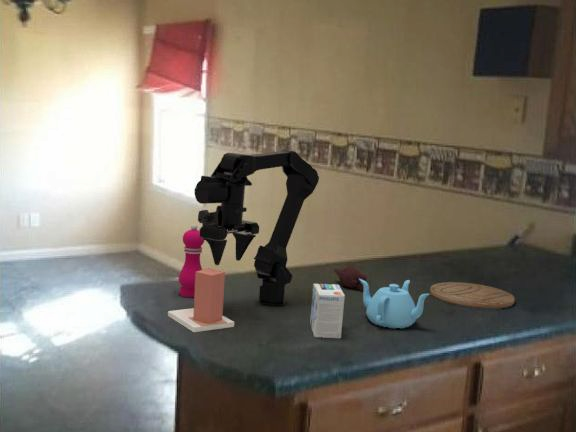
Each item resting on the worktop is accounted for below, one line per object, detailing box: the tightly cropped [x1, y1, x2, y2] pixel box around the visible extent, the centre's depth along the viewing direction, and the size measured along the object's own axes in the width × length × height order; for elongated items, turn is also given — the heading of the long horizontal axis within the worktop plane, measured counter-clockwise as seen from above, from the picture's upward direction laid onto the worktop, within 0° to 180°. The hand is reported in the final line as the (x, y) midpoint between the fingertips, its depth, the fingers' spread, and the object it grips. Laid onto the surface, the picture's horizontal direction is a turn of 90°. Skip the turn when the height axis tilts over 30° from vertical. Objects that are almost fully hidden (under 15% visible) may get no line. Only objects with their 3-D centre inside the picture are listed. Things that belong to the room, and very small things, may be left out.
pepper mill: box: [178, 223, 205, 298], centre depth 202 cm, size 7×7×20 cm
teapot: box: [359, 279, 430, 329], centre depth 190 cm, size 15×15×10 cm
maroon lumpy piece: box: [333, 265, 368, 292], centre depth 224 cm, size 7×7×15 cm
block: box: [193, 267, 226, 324], centre depth 176 cm, size 5×5×12 cm
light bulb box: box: [309, 283, 346, 339], centre depth 179 cm, size 11×7×11 cm, turn 5°
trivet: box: [429, 281, 516, 308], centre depth 222 cm, size 25×25×2 cm
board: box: [167, 307, 235, 333], centre depth 180 cm, size 14×11×1 cm
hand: (227, 262), depth 188 cm, fingers open, 9 cm apart
